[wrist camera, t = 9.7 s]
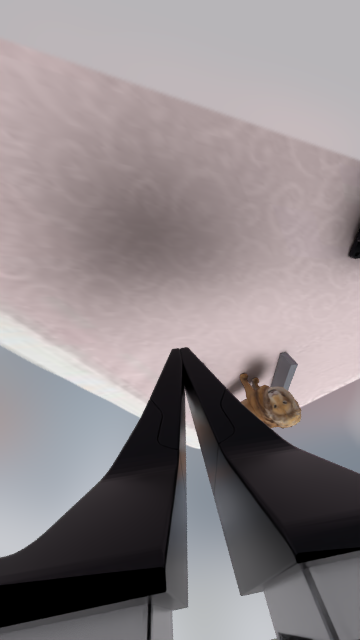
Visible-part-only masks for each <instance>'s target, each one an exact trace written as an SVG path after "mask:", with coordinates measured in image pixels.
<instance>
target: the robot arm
mask: <svg viewBox="0 0 360 640" xmlns="http://www.w3.org/2000/svg"><path fill="white" fill-rule="evenodd" d="M349 256H350V258H354V259H357V258H360V229H359V232H358V234H357V237H356V239H355V242H354V244H353V247H352V249H351V252H350V255H349ZM185 391H186V396H187V399H188V403H189V407H190V410H191V414H192V418H193V421H194V425H195V429H196V432H197V436H198V440H199V444H200V447H201V451H202V455H203V458H204V462H205V466H206V469H207V473H208V477H209V481H210V484H211V488H212V491H213V495H214V499H215V503H216V506H217V510H218V514H219V517H220V521H221V525H222V529H223V532H224V536H225V540H226V543H227V547H228V551H229V555H230V558H231V562H232V566H233V569H234V573H235V577H236V580H237V584H238V588H239V591H240V595H241V596H243V595H249V594H253V593H258V592H263V591H264V594H265V597H266V601H267V605H268V608H269V611H270V615H271V619H272V622H273V626H274V629H275V633H276V636H277V639H272V640H360V474H359V473H357V472H354V471H352V470H349V469H347V468H345V467H342V466H340V465H337V464H335V463H332V462H330V461H328V460H325V459H323V458H320V457H318V456H316V455H313V454H311V453H308V452H306V451H303V450H301V449H299V448H297V447H295V446H293V445H291V444H290V443H288V442H287V441H286V440H284V439H283V438H281V437H280V436H279V435H278V434H276V433H275V432H274V431H273V430H272V429H271V428H270V427H268V426H267V425H266V424H265V423H264V422H262V421H261V420H260V419H259V418H258V417H257V416H255V415H254V414H253V413H252V412H251V411H250V410H248V409H247V408H246V407H245V406H244V405H243V404H242V403H241V402H240V401H239V400H238V399H237V398H236V397H235V396H234V395H233V394H232V393H231V392H230V391H229V390H228V389H226V387H225V386H224V385H223V384H222V383H221V382H220V381H219V380H218V379H217V378H216V377H215V375H214V374H213V373H212V372H211V371H210V370H209V369H208V368H207V367H206V366H205V365H204V364H203V363H202V362H201V361H200V360H199V359H198V358H197V357H196V355H195V354H194V353H193V352H192V351H191V350H190V349H189V348H188V347H185V348H180V349H179V348H177V349H172V350H171V353H170V355H169V357H168V359H167V361H166V364H165V366H164V368H163V370H162V373H161V375H160V377H159V379H158V381H157V384H156V386H155V388H154V390H153V392H152V395H151V397H150V400H149V401H148V403H147V406H146V408H145V410H144V412H143V414H142V416H141V418H140V420H139V422H138V423H137V425H136V427H135V428H134V430H133V432H132V434H131V435H130V437H129V439H128V440H127V442H126V444H125V445H124V447H123V448H122V450H121V452H120V454H119V455H118V457H117V459H116V460H115V462H114V463H113V465H112V466H111V468H110V470H109V471H108V472H107V473H106V475H105V476H104V477H103V478H102V479H101V481H99V482H98V483H97V484H96V485H95V486H94V487H93V488H92V489H91V490H90V491H89V492H88V493H87V494H86V495H85V496H84V497H82V498H81V499H80V500H79V501H78V502H77V503H76V504H75V505H74V506H73V507H72V508H71V509H70V510H69V511H68V512H66V513H65V515H63V516H62V517H61V518H60V519H59V520H58V521H57V522H56V523H55V524H54V525H52V526H51V527H50V528H49V529H48V530H47V531H46V532H45V533H44V534H43V535H42V536H40V537H39V538H38V539H37V540H36V541H34V542H33V543H31V544H30V545H28V546H27V547H25V548H24V549H22V550H20V551H18V552H17V553H14V554H12V555H9V556H6V557H1V558H0V640H173V624H172V611H173V610H178V609H182V608H187V607H188V579H187V578H188V572H187V503H186V429H185Z"/></svg>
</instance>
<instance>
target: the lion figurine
mask: <svg viewBox="0 0 360 640" xmlns="http://www.w3.org/2000/svg"><path fill="white" fill-rule="evenodd" d="M247 378H248V375H247V374H246V373H244V374H241V375H240V380H241V382H242V384H243V386H244V388H245V392H246V397H247V399H245V400H243V401H241V403H242V404H243V405H244V406H245V407H246V408H247V409H248V410H250V411H251V412H252V413H253V414H254V415H255V416H257V417H258V418H259V419H260V420H261V421H262V422H264V423H265V424H266V425H267V426H268V427H270V428H273V427H281V428H287V427H292V426H293V425H296V424H297V423H298V422H300V419H301V409H300V407H299V405H298V402H297V401H296V400H295V399H294V397H293V396H292V395H291V393H290V392H289V391H287V390H286V389H284V388H283V387H269V386H266V385H263V386H261V387H259V386H258V383H259V379H258V378H254V379H252V386H251V385H250V384H249V383H248V380H247ZM252 387H253V388H254V389H253V388H252Z"/></svg>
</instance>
